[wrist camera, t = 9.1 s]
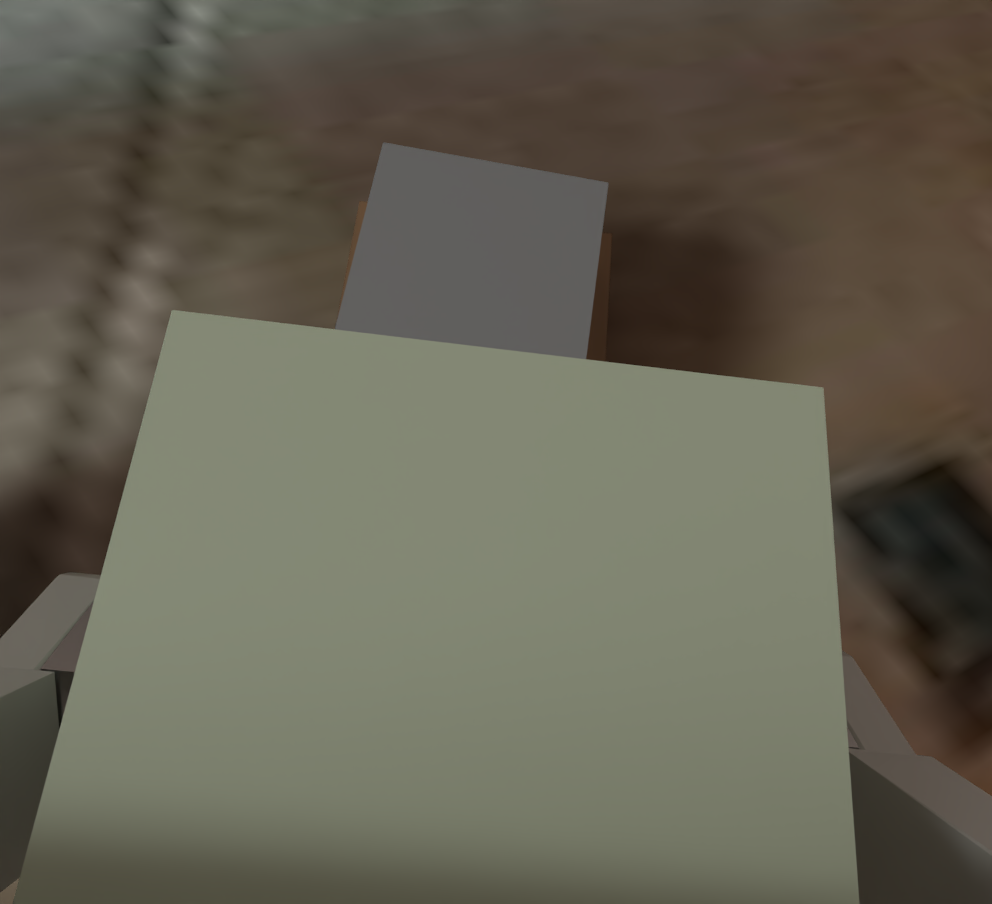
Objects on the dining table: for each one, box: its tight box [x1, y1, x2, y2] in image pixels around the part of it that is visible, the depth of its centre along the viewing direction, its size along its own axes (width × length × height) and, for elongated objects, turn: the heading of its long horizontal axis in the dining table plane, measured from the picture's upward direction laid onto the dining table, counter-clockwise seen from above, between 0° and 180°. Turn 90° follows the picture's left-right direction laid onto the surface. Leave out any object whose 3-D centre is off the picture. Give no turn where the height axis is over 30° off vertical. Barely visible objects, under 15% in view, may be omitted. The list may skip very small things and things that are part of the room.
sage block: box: [13, 310, 859, 904], centre depth 9 cm, size 5×5×8 cm
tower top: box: [335, 142, 608, 359], centre depth 27 cm, size 7×7×4 cm
